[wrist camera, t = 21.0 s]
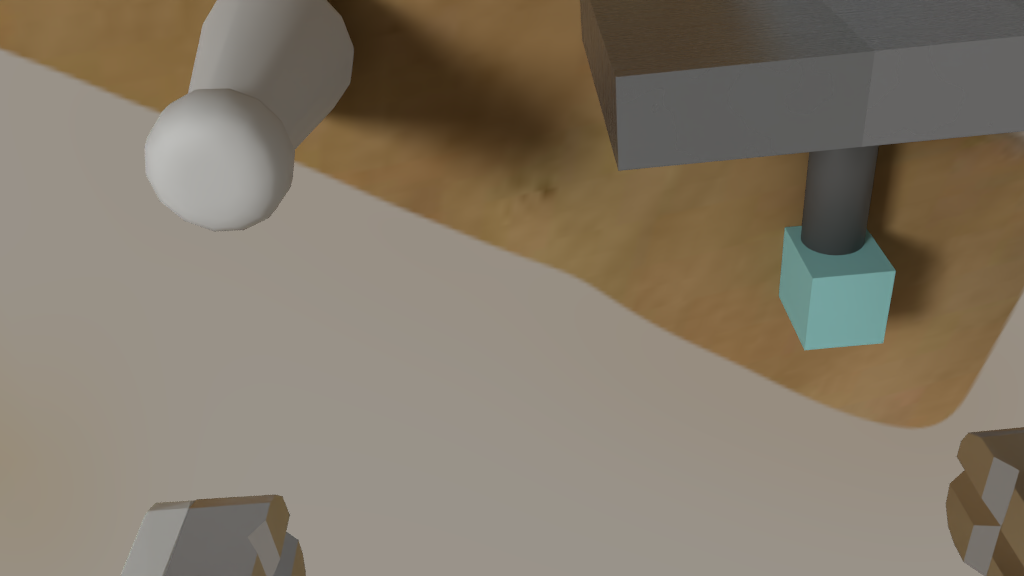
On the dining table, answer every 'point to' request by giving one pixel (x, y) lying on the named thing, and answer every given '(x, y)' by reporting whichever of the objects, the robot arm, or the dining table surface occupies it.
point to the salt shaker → (248, 109)
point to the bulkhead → (800, 74)
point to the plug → (836, 256)
